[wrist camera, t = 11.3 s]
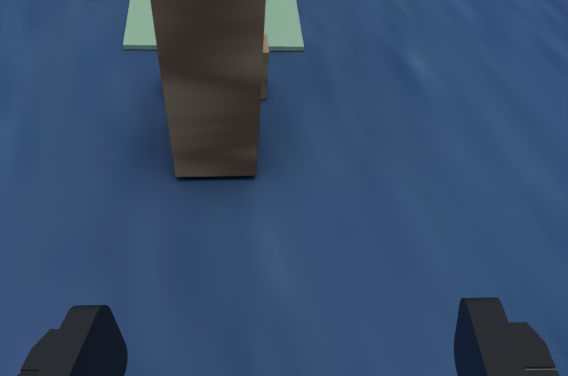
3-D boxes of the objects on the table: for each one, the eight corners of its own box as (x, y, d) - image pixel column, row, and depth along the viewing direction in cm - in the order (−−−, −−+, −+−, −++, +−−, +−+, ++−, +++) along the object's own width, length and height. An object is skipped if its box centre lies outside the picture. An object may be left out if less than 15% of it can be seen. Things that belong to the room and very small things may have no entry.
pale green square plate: (288, -36, 35) (289, -41, 35) (303, 51, 30) (303, 46, 29) (138, -41, 34) (137, -45, 34) (123, 49, 29) (123, 44, 28)
